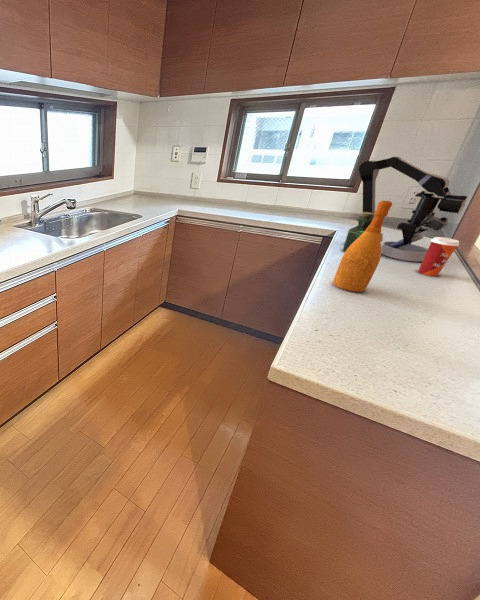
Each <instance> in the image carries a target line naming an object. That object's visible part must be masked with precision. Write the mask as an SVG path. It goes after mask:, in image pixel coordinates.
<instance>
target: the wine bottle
mask: <svg viewBox="0 0 480 600" xmlns="http://www.w3.org/2000/svg"><path fill="white" fill-rule="evenodd" d="M392 206H393V202H392V201H390V200H380V201H379V202H378V203H377V207H376V208H375V212H374V215H375V216H374V218H373V220H372V222H371V224H370V225H369V226H368V228H367V229H366V230H365V232H364V233H363V234H362V235H361V236H360V237H359V238H358V239H356V240H355V241H354V242H353V243H352V244H351V245H350V246H349V248H348V249H347V250H346V252H344V253H343V255H342V257H341V259H340V262H339V264H338V267H337V269H336V272H335V275H334V278H333V280H332V283H333V285H334V286H335V287H337V288H339V289H341V290H344V291H348V292H355V293H359V292H363V291H365V290H366V289H367V287H368V286H369V284H370V282H371V280H372V278H373V277H374V274H375V272H376V270H377V268H378V266H379V264H380V261H381V257H382V254H381V245H382V243H383V242H384V241H383V240H384V233H382V226H383V223H384V221H385V218H386V217H387V216H388V215H389V212H390V209H391V208H392Z"/></svg>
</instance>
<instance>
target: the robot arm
mask: <svg viewBox="0 0 480 600" xmlns="http://www.w3.org/2000/svg"><path fill="white" fill-rule="evenodd" d="M389 168H393V169H394V170H396V171H398V172H399V173H401V174H403V175H405V176H407V177H409V178H410V179H412V180H414V181H416V182H417V183H418V184H419V185H420V187H422V188H423V189H424V190H421V192H419V193H416V194H415V195H414V196H415V197H417V198H418V197H419V200H418V203H417V205H416V206H415V208H414V209H413V210H412V211H411V213H412V215H411V217H410V219H407V221H403V222H400V223H398V225H397V226H396V229H397V230H401V233H402V239H403V242H404V245H407V244H408V243H409V242H410V240H411V239H412V238H413V236H414V235H415V234H416V233H421V234H422V233H424V232H427V231H429V229H432V230H434V231H441V230H443V228H444V227H447V225H448V224H449V222H448V221H449V218H448V217H446V216H443V217H437V216H435V215H436V212H435V209H436V208H437V209H438V210H439V212H443V213H452V214H460V213H461V212H462V210H464V208H465V206H466V202H467V199H468V197H469V196H468V195H465V194H464V195H463V194H462V195H458V194H452V193H451V191H450V188H449V185H450V180H449V179H448V178H447V177H445V176H441V175H437V174H434V173H430V172H427V171H425V170H423V169H421V168H419V167H418V166H416V165H414V164H413V163H410V162H408V161H406V160H405V159H402V158H401V157H400V156H392V157H389V158H384V159H380V160H366V161H364V162H362V163H361V164H360V165H359V167H358V173H359V177H360V179H361V182H362V212H369V213H373V215H372V216H371V219H373V218H374V216H375V215H374V212H375V211H376V180H377V178H378V175H379V172H380V170H384V169H389ZM360 217H362V215H361V216H360ZM370 224H371V222H370V223H369V224H368V225H367V226H366V228H368V226H369V225H370ZM357 226H358V225H355V227H357ZM427 227H428V228H427ZM344 244H345V242H344ZM344 244H343V245H344ZM409 244H412V243H409Z"/></svg>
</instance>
